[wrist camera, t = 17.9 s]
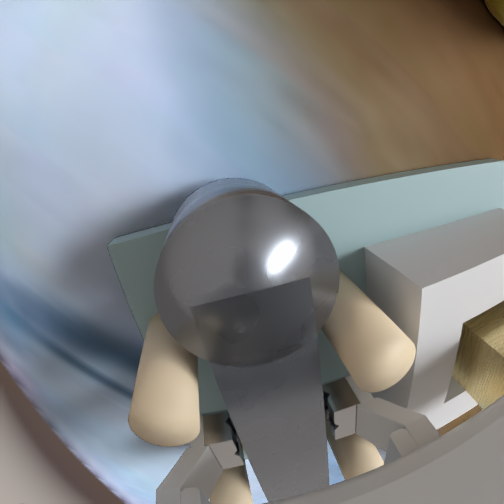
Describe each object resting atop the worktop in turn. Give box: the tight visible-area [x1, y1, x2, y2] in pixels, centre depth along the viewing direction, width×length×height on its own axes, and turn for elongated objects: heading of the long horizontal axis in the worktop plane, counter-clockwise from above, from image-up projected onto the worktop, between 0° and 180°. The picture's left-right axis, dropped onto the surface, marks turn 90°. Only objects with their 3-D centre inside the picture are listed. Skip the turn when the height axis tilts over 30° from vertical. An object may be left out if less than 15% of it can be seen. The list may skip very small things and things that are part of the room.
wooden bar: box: [452, 301, 504, 409], centre depth 10 cm, size 3×3×8 cm
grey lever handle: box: [154, 178, 340, 502], centre depth 11 cm, size 14×5×4 cm, turn 12°
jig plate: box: [107, 158, 504, 504], centre depth 12 cm, size 14×19×6 cm
